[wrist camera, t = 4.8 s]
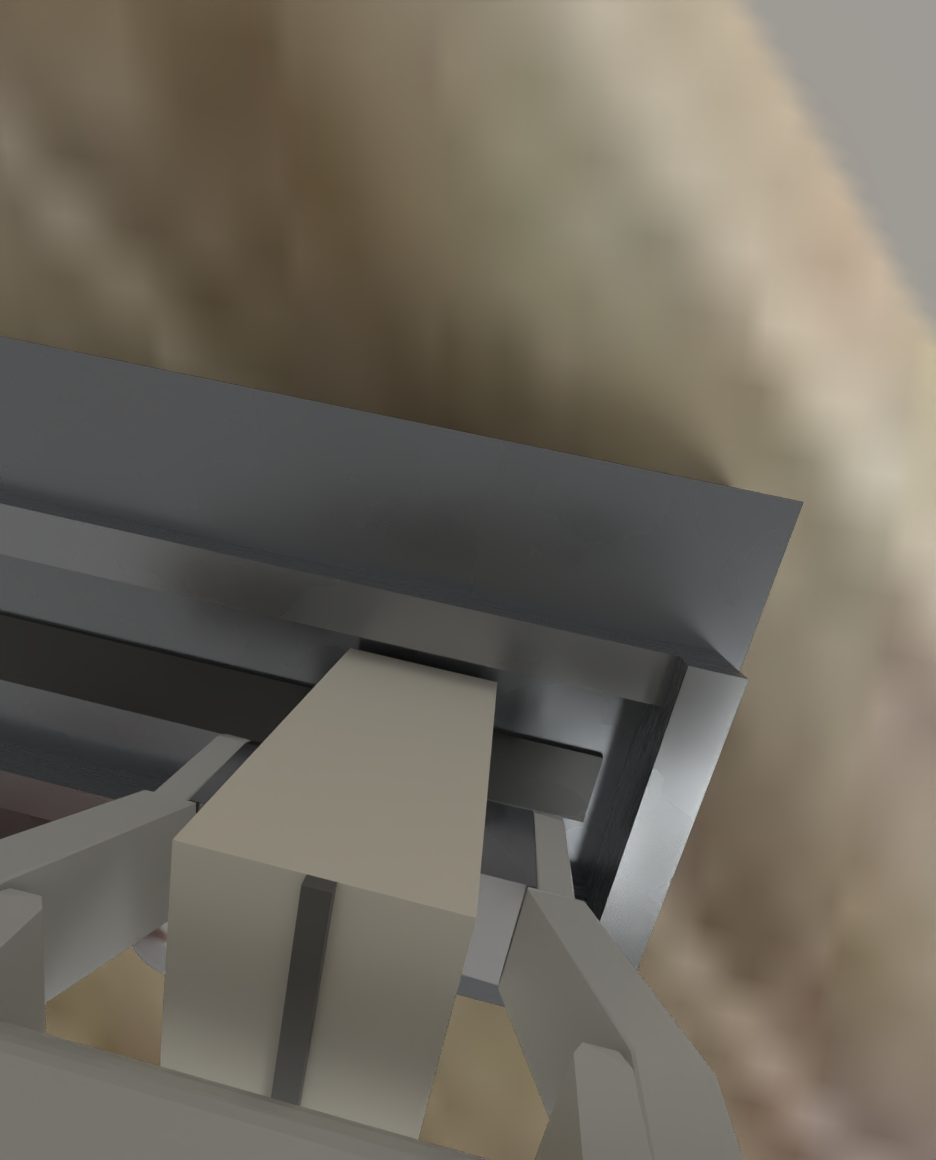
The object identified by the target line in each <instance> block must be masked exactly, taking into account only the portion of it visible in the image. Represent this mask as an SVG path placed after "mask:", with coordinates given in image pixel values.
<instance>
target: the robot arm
mask: <svg viewBox="0 0 936 1160" xmlns="http://www.w3.org/2000/svg"><path fill="white" fill-rule="evenodd" d="M261 744H262V743H260V742H257V741H253V740H252V741H250V740H248V739H244V738H240V737H237V736H233V735H229V734H223V735H219V736H217V737H216V738H214V739H213V740H212V741H211V742H210V743H209V744H208V745H207V746H205V747H204V748H203V749H202V750H201V751H200V752H199V753H197V754H196V755H195V756H194V757H193V758H192V759H191V760H190V761H188V762H187V763H186V764H185V765H184V766H183V767H182V768H180V769H179V770H178V771H177V772H176V773H175V774H174V775H172V776H171V777H170V778H169V779H168V780H167V781H166V782H165V783H163V784H162V785H161V786H160V787H159V788H158V789H157V790H155V791H154V792H152V791H147V790H143V791H140V792H137V793H134V794H131V795H128V796H125V797H122V798H119V799H117V800H114V801H111V802H108V803H105V804H102V805H99V806H96V807H93V808H90V809H87V810H84V811H81V812H79V813H76V814H73V815H70V816H67V817H64V818H61V819H58V820H55V821H52V822H49V823H46V824H43V825H41V826H38V827H35V828H32V829H29V830H26V831H23V832H20V833H17V834H14V835H11V836H8V837H5V838H3V839H0V1160H489V1159H485V1158H482V1157H478V1156H475V1155H471V1154H467V1153H464V1152H460V1151H457V1150H453V1149H450V1148H446V1147H443V1146H439V1145H436V1144H432V1143H429V1142H425V1141H422V1140H418V1139H415V1138H411V1137H408V1136H404V1135H401V1134H397V1133H393V1132H390V1131H386V1130H383V1129H379V1128H376V1127H372V1126H369V1125H365V1124H362V1123H358V1122H355V1121H351V1120H348V1119H344V1118H341V1117H337V1116H334V1115H330V1114H326V1113H323V1112H319V1111H316V1110H312V1109H309V1108H305V1107H302V1106H298V1105H295V1104H291V1103H288V1102H284V1101H281V1100H277V1099H274V1098H270V1097H267V1096H263V1095H260V1094H256V1093H253V1092H249V1091H246V1090H242V1089H238V1088H235V1087H231V1086H228V1085H224V1084H221V1083H217V1082H214V1081H210V1080H207V1079H203V1078H200V1077H196V1076H193V1075H189V1074H186V1073H182V1072H179V1071H175V1070H172V1069H168V1068H165V1067H161V1066H158V1065H154V1064H151V1063H147V1062H144V1061H140V1060H137V1059H133V1058H129V1057H126V1056H122V1055H119V1054H115V1053H112V1052H108V1051H105V1050H101V1049H98V1048H94V1047H91V1046H87V1045H84V1044H80V1043H77V1042H73V1041H70V1040H66V1039H63V1038H59V1037H56V1036H52V1035H49V1034H46V1008H45V1003H47V1002H48V1001H49V1000H51V999H52V998H54V997H55V996H57V995H58V994H60V993H61V992H63V991H64V990H66V989H67V988H69V987H70V986H72V985H73V984H75V983H76V982H78V981H79V980H81V979H82V978H84V977H85V976H87V975H88V974H90V973H91V972H93V971H94V970H96V969H97V968H99V967H100V966H102V965H103V964H105V963H106V962H108V961H109V960H111V959H112V958H114V957H115V956H117V955H118V954H120V953H121V952H123V951H124V950H126V949H127V948H129V947H130V946H132V945H133V944H135V943H136V942H138V941H139V940H141V939H142V938H144V937H145V936H147V935H148V934H150V933H151V932H153V931H154V930H156V929H157V928H159V927H160V926H162V925H163V924H165V923H166V922H168V912H169V894H170V876H171V857H172V840H173V838H174V837H175V836H176V835H177V834H178V833H179V832H180V831H181V830H182V829H183V828H184V827H185V826H186V824H187V823H188V822H189V821H190V820H191V819H192V818H193V817H194V816H195V815H196V814H197V813H198V812H199V810H200V809H201V808H202V807H203V806H204V805H205V804H206V803H207V802H208V801H209V800H210V799H211V798H212V796H213V795H214V794H215V793H216V792H217V791H218V790H219V789H220V788H221V787H222V786H223V785H224V784H225V782H226V781H227V780H228V779H229V778H230V777H231V776H232V775H233V774H234V773H235V772H236V771H237V770H238V768H239V767H240V766H241V765H242V764H243V763H244V762H245V761H246V760H247V759H248V758H249V757H250V756H251V754H252V753H253V752H254V751H255V750H256V749H257V748H258V747H259V746H260V745H261ZM462 975H465V976H469V977H472V978H475V979H479V980H482V981H485V982H489V983H492V984H495V985H499V988H498V990H499V992H500V995H501V997H502V1000H503V1002H504V1005H505V1007H506V1010H507V1012H508V1015H509V1017H510V1020H511V1023H512V1025H513V1028H514V1030H515V1033H516V1035H517V1038H518V1040H519V1043H520V1045H521V1048H522V1050H523V1053H524V1055H525V1058H526V1061H527V1063H528V1066H529V1068H530V1071H531V1073H532V1076H533V1078H534V1081H535V1083H536V1086H537V1088H538V1091H539V1093H540V1096H541V1099H542V1101H543V1104H544V1106H545V1109H546V1111H547V1114H548V1116H549V1122H548V1125H547V1128H546V1130H545V1133H544V1136H543V1139H542V1141H541V1144H540V1147H539V1150H538V1152H537V1155H536V1158H535V1160H743V1157H742V1154H741V1151H740V1148H739V1145H738V1142H737V1138H736V1135H735V1132H734V1129H733V1126H732V1123H731V1120H730V1117H729V1114H728V1111H727V1108H726V1105H725V1102H724V1099H723V1096H722V1093H721V1090H720V1087H719V1084H718V1081H717V1078H716V1075H715V1074H714V1072H713V1071H712V1070H711V1068H710V1067H709V1066H708V1064H707V1063H706V1062H705V1060H704V1059H703V1058H702V1056H701V1055H700V1054H699V1052H698V1051H697V1050H696V1048H695V1047H694V1046H693V1044H692V1043H691V1042H690V1040H689V1039H688V1038H687V1036H686V1035H685V1034H684V1033H683V1031H682V1030H681V1029H680V1027H679V1026H678V1025H677V1023H676V1022H675V1021H674V1019H673V1018H672V1017H671V1015H670V1014H669V1013H668V1011H667V1010H666V1009H665V1007H664V1006H663V1005H662V1003H661V1002H660V1001H659V999H658V998H657V997H656V996H655V994H654V993H653V992H652V990H651V989H650V988H649V986H648V985H647V984H646V982H645V981H644V980H643V978H642V977H641V976H640V974H639V973H638V972H637V970H636V969H635V968H634V966H633V965H632V964H631V962H630V961H629V960H628V958H627V957H626V956H625V955H624V953H623V952H622V951H621V949H620V948H619V947H618V945H617V944H616V943H615V941H614V940H613V939H612V937H611V936H610V935H609V933H608V932H607V931H606V929H605V928H604V927H603V925H602V924H601V923H600V921H599V920H598V919H597V918H596V916H595V915H594V914H593V912H592V911H591V910H590V908H589V907H588V906H587V904H586V903H585V902H584V901H581V900H577V899H575V896H574V889H573V882H572V875H571V867H570V860H569V853H568V846H567V839H566V832H565V825H564V820H563V818H562V817H561V816H560V815H556V814H551V813H546V812H542V811H537V810H528V809H524V808H520V807H516V806H511V805H507V804H503V803H499V802H495V801H491V800H487V804H486V815H485V827H484V838H483V849H482V860H481V872H480V883H479V894H478V906H477V917H476V921H475V925H474V929H473V933H472V937H471V941H470V944H469V948H468V952H467V956H466V960H465V963H464V967H463V971H462Z"/></svg>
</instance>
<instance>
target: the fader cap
mask: <svg viewBox="0 0 936 1160" xmlns="http://www.w3.org/2000/svg"><path fill="white" fill-rule="evenodd" d="M496 691H497V682H494V681H490V680H485V679H481V678H477V677H472V676H468V675H464V674H459V673H455V672H451V671H447V670H442V669H438V668H434V667H429V666H425V665H421V664H416V663H412V662H408V661H404V660H399V659H395V658H391V657H386V656H382V655H378V654H373V653H369V652H365V651H361V650H356V649H352V648H350V649H349V650H348V651H347V652H346V653H345V654H344V655H343V656H342V658H341V659H340V660H339V661H338V662H337V663H336V664H335V665H334V666H333V667H332V668H331V669H330V670H329V672H328V673H327V674H326V675H325V676H324V677H323V678H322V679H321V680H320V681H319V682H318V683H317V684H316V686H315V687H314V688H313V689H312V690H311V691H310V692H309V693H308V694H307V695H306V696H305V697H304V698H303V700H302V701H301V702H300V703H299V704H298V705H297V706H296V707H295V708H294V709H293V710H292V711H291V712H290V714H289V715H288V716H287V717H286V718H285V719H284V720H283V721H282V722H281V723H280V724H279V725H278V726H277V728H276V729H275V730H274V731H273V732H272V733H271V734H270V735H269V736H268V737H267V738H266V739H265V740H264V742H263V743H262V744H261V745H260V746H259V747H258V748H257V749H256V750H255V751H254V752H253V753H252V754H251V756H250V757H249V758H248V759H247V760H246V761H245V762H244V763H243V764H242V765H241V766H240V767H239V768H238V770H237V771H236V772H235V773H234V774H233V775H232V776H231V777H230V778H229V779H228V780H227V781H226V782H225V784H224V785H223V786H222V787H221V788H220V789H219V790H218V791H217V792H216V793H215V794H214V795H213V796H212V798H211V799H210V800H209V801H208V802H207V803H206V804H205V805H204V806H203V807H202V808H201V809H200V810H199V812H198V813H197V814H196V815H195V816H194V817H193V818H192V819H191V820H190V821H189V822H188V823H187V824H186V826H185V827H184V828H183V829H182V830H181V831H180V832H179V833H178V834H177V835H176V836H175V837H174V838H173V840H172V857H171V876H170V894H169V912H168V930H167V948H166V966H165V984H164V1002H163V1021H162V1039H161V1057H160V1066H161V1067H165V1068H168V1069H172V1070H175V1071H179V1072H182V1073H186V1074H189V1075H193V1076H196V1077H200V1078H203V1079H207V1080H210V1081H214V1082H217V1083H221V1084H224V1085H228V1086H231V1087H235V1088H238V1089H242V1090H246V1091H249V1092H253V1093H256V1094H260V1095H263V1096H267V1097H270V1098H274V1099H277V1100H281V1101H284V1102H288V1103H291V1104H295V1105H298V1106H302V1107H305V1108H309V1109H312V1110H316V1111H319V1112H323V1113H326V1114H330V1115H334V1116H337V1117H341V1118H344V1119H348V1120H351V1121H355V1122H358V1123H362V1124H365V1125H369V1126H372V1127H376V1128H379V1129H383V1130H386V1131H390V1132H393V1133H397V1134H401V1135H404V1136H408V1137H411V1138H415V1139H419V1135H420V1131H421V1127H422V1123H423V1119H424V1116H425V1112H426V1108H427V1104H428V1100H429V1097H430V1093H431V1089H432V1085H433V1081H434V1078H435V1074H436V1070H437V1066H438V1062H439V1059H440V1055H441V1051H442V1047H443V1043H444V1040H445V1036H446V1032H447V1028H448V1024H449V1020H450V1017H451V1013H452V1009H453V1005H454V1001H455V998H456V994H457V990H458V986H459V982H460V979H461V975H462V971H463V967H464V963H465V960H466V956H467V952H468V948H469V944H470V941H471V937H472V933H473V929H474V925H475V921H476V917H477V906H478V894H479V883H480V872H481V860H482V849H483V838H484V827H485V815H486V804H487V793H488V781H489V770H490V759H491V747H492V736H493V725H494V714H495V702H496Z"/></svg>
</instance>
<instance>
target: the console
mask: <svg viewBox="0 0 936 1160" xmlns="http://www.w3.org/2000/svg"><path fill="white" fill-rule="evenodd" d="M802 505H803V502H801V501H796V500H791V499H786V498H782V497H777V496H772V495H767V494H762V493H757V492H752V491H748V490H743V489H738V488H733V487H728V486H723V485H719V484H714V483H709V482H704V481H699V480H694V479H689V478H685V477H680V476H675V475H670V474H665V473H660V472H656V471H651V470H646V469H641V468H636V467H631V466H627V465H622V464H617V463H612V462H607V461H602V460H597V459H593V458H588V457H583V456H578V455H573V454H568V453H564V452H559V451H554V450H549V449H544V448H539V447H535V446H530V445H525V444H520V443H515V442H510V441H505V440H501V439H496V438H491V437H486V436H481V435H476V434H472V433H467V432H462V431H457V430H452V429H447V428H442V427H438V426H433V425H428V424H423V423H418V422H413V421H409V420H404V419H399V418H394V417H389V416H384V415H380V414H375V413H370V412H365V411H360V410H355V409H350V408H346V407H341V406H336V405H331V404H326V403H321V402H317V401H312V400H307V399H302V398H297V397H292V396H288V395H283V394H278V393H273V392H268V391H263V390H258V389H254V388H249V387H244V386H239V385H234V384H229V383H225V382H220V381H215V380H210V379H205V378H200V377H195V376H191V375H186V374H181V373H176V372H171V371H166V370H162V369H157V368H152V367H147V366H142V365H137V364H133V363H128V362H123V361H118V360H113V359H108V358H103V357H99V356H94V355H89V354H84V353H79V352H74V351H70V350H65V349H60V348H55V347H50V346H45V345H41V344H36V343H31V342H26V341H21V340H16V339H11V338H7V337H2V336H0V839H3V838H5V837H8V836H11V835H14V834H17V833H20V832H23V831H26V830H29V829H32V828H35V827H38V826H41V825H43V824H46V823H49V822H52V821H55V820H58V819H61V818H64V817H67V816H70V815H73V814H76V813H79V812H81V811H84V810H87V809H90V808H93V807H96V806H99V805H102V804H105V803H108V802H111V801H114V800H117V799H119V798H122V797H125V796H128V795H131V794H134V793H137V792H140V791H143V790H147V791H152V792H154V791H155V790H157V789H158V788H159V787H160V786H161V785H162V784H163V783H165V782H166V781H167V780H168V779H169V778H170V777H171V776H172V775H174V774H175V773H176V772H177V771H178V770H179V769H180V768H182V767H183V766H184V765H185V764H186V763H187V762H188V761H190V760H191V759H192V758H193V757H194V756H195V755H196V754H197V753H199V752H200V751H201V750H202V749H203V748H204V747H205V746H207V745H208V744H209V743H210V742H211V741H212V740H213V739H214V738H216V737H217V736H219V735H223V734H229V735H233V736H237V737H240V738H244V739H248V740H250V741H252V740H253V741H257V742H260V743H263V742H264V740H265V739H266V738H267V737H268V736H269V735H270V734H271V733H272V732H273V731H274V730H275V729H276V728H277V726H278V725H279V724H280V723H281V722H282V721H283V720H284V719H285V718H286V717H287V716H288V715H289V714H290V712H291V711H292V710H293V709H294V708H295V707H296V706H297V705H298V704H299V703H300V702H301V701H302V700H303V698H304V697H305V696H306V695H307V694H308V693H309V692H310V691H311V690H312V689H313V688H314V687H315V686H316V684H317V683H318V682H319V681H320V680H321V679H322V678H323V677H324V676H325V675H326V674H327V673H328V672H329V670H330V669H331V668H332V667H333V666H334V665H335V664H336V663H337V662H338V661H339V660H340V659H341V658H342V656H343V655H344V654H345V653H346V652H347V651H348V650H349V649H350V648H352V649H356V650H361V651H365V652H369V653H373V654H378V655H382V656H386V657H391V658H395V659H399V660H404V661H408V662H412V663H416V664H421V665H425V666H429V667H434V668H438V669H442V670H447V671H451V672H455V673H459V674H464V675H468V676H472V677H477V678H481V679H485V680H490V681H494V682H497V691H496V702H495V714H494V725H493V736H492V747H491V759H490V770H489V781H488V793H487V800H491V801H495V802H499V803H503V804H507V805H511V806H516V807H520V808H524V809H528V810H537V811H542V812H546V813H551V814H556V815H560V816H561V817H562V818H563V820H564V825H565V832H566V839H567V846H568V853H569V860H570V867H571V875H572V882H573V889H574V896H575V899H577V900H581V901H584V902H585V903H586V904H587V906H588V907H589V908H590V910H591V911H592V912H593V914H594V915H595V916H596V918H597V919H598V920H599V921H600V923H601V924H602V925H603V927H604V928H605V929H606V931H607V932H608V933H609V935H610V936H611V937H612V939H613V940H614V941H615V943H616V944H617V945H618V947H619V948H620V949H621V951H622V952H623V953H624V955H625V956H626V957H627V958H628V960H629V961H630V962H631V964H632V965H633V966H634V968H635V969H636V970H637V969H638V966H639V963H640V961H641V958H642V956H643V953H644V950H645V948H646V945H647V943H648V940H649V937H650V935H651V932H652V930H653V927H654V924H655V922H656V919H657V917H658V914H659V911H660V909H661V906H662V904H663V901H664V898H665V896H666V893H667V891H668V888H669V885H670V883H671V880H672V878H673V875H674V872H675V870H676V867H677V865H678V862H679V859H680V857H681V854H682V852H683V849H684V846H685V844H686V841H687V838H688V836H689V833H690V831H691V828H692V825H693V823H694V820H695V818H696V815H697V812H698V810H699V807H700V805H701V802H702V799H703V797H704V794H705V792H706V789H707V786H708V784H709V781H710V779H711V776H712V773H713V771H714V768H715V766H716V763H717V760H718V758H719V755H720V753H721V750H722V747H723V745H724V742H725V740H726V737H727V734H728V732H729V729H730V727H731V724H732V721H733V719H734V716H735V714H736V711H737V708H738V706H739V703H740V700H741V698H742V695H743V693H744V690H745V687H746V685H747V682H748V680H749V679H747V678H746V677H745V676H744V675H743V674H742V673H741V672H740V669H741V666H742V664H743V661H744V659H745V656H746V653H747V651H748V648H749V645H750V643H751V640H752V637H753V635H754V632H755V629H756V627H757V624H758V621H759V619H760V616H761V613H762V611H763V608H764V606H765V603H766V600H767V598H768V595H769V592H770V590H771V587H772V584H773V582H774V579H775V576H776V574H777V571H778V568H779V566H780V563H781V560H782V558H783V555H784V552H785V550H786V547H787V545H788V542H789V539H790V537H791V534H792V531H793V529H794V526H795V523H796V521H797V518H798V515H799V513H800V510H801V507H802ZM167 930H168V922H166V923H165V924H163V925H162V926H160V927H159V928H157V929H156V930H154V931H153V932H151V933H150V934H148V935H147V936H145V937H144V938H142V939H141V940H139V941H138V942H136V943H135V944H133V945H132V946H133V948H134V950H135V952H136V953H137V954H138V956H139V957H140V958H141V959H142V960H143V961H144V962H145V963H146V964H147V965H149V966H150V967H152V968H153V969H155V970H157V971H158V972H160V973H163V974H165V966H166V948H167ZM498 988H499V985H495V984H492V983H489V982H485V981H482V980H479V979H475V978H472V977H469V976H465V975H461V979H460V982H459V986H458V990H457V994H458V995H462V996H466V997H470V998H473V999H477V1000H481V1001H484V1002H488V1003H492V1004H496V1005H499V1006H503V1007H505V1005H504V1002H503V1000H502V997H501V995H500V992H499V990H498Z"/></svg>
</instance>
